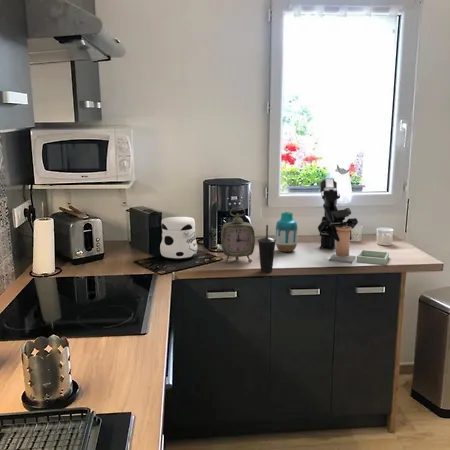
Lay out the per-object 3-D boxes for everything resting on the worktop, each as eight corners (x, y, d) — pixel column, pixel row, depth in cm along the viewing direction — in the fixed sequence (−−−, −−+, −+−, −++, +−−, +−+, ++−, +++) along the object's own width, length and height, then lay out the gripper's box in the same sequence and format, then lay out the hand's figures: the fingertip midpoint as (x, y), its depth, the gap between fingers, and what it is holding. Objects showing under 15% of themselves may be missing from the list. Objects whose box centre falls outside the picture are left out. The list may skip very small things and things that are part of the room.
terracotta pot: (333, 255, 231) (334, 228, 228) (336, 252, 237) (337, 224, 234) (348, 257, 228) (350, 229, 225) (351, 253, 235) (352, 226, 232)
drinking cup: (277, 269, 218) (278, 223, 214) (273, 274, 211) (273, 227, 206) (260, 267, 220) (260, 222, 216) (255, 272, 213) (255, 226, 209)
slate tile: (329, 260, 230) (329, 259, 230) (333, 255, 239) (333, 253, 239) (351, 263, 226) (351, 261, 226) (355, 257, 235) (355, 256, 235)
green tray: (356, 261, 229) (356, 256, 229) (361, 254, 240) (361, 249, 240) (385, 264, 224) (385, 259, 224) (388, 257, 235) (389, 252, 235)
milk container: (202, 259, 233) (202, 221, 229) (166, 264, 226) (165, 224, 223) (190, 251, 249) (189, 215, 245) (156, 254, 242) (154, 217, 238)
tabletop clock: (222, 264, 225) (222, 209, 220) (220, 259, 234) (220, 205, 229) (254, 263, 226) (255, 208, 221) (252, 258, 235) (252, 205, 230)
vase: (272, 252, 245) (273, 213, 241) (278, 247, 254) (279, 210, 250) (293, 254, 241) (294, 215, 237) (299, 249, 250) (300, 211, 246)
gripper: (322, 203, 228) (334, 232, 220) (356, 200, 234) (370, 229, 227) (312, 217, 237) (324, 245, 229) (346, 214, 243) (358, 242, 236)
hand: (344, 240), depth 230 cm, fingers closed on terracotta pot, 6 cm apart
